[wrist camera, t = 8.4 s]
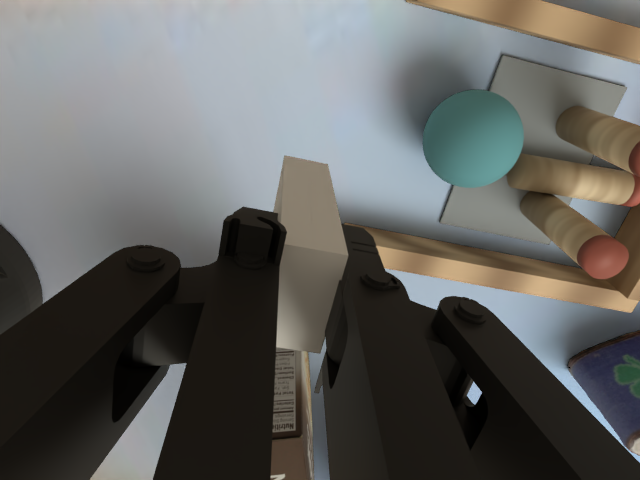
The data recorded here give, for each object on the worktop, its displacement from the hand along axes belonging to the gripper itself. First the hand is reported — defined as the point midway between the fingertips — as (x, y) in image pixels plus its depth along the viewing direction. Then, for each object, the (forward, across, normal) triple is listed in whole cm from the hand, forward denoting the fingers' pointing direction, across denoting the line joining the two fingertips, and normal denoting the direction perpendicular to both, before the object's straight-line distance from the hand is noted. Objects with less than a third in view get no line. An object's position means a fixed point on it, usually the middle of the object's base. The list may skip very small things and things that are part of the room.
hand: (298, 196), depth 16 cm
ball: (+13, -11, -1) cm, 17 cm away
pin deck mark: (+16, -17, 0) cm, 23 cm away
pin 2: (+16, -19, +3) cm, 25 cm away
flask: (+16, -32, +14) cm, 39 cm away
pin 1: (+16, -19, -3) cm, 25 cm away
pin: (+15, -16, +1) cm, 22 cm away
